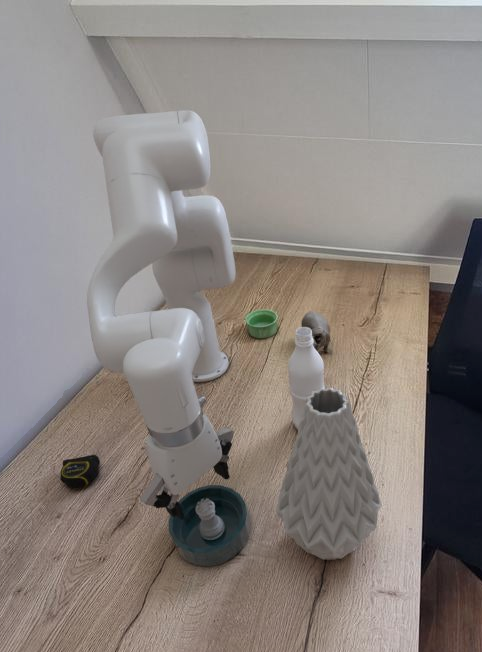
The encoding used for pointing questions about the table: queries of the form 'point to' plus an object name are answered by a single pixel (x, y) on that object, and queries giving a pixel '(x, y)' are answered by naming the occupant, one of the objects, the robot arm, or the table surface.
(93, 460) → the tape measure
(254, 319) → the ramekin
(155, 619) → the table surface
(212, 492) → the bowl
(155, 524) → the table surface
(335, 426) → the vase
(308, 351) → the water bottle
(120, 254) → the robot arm
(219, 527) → the rook chess piece
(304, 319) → the rhinoceros figurine
